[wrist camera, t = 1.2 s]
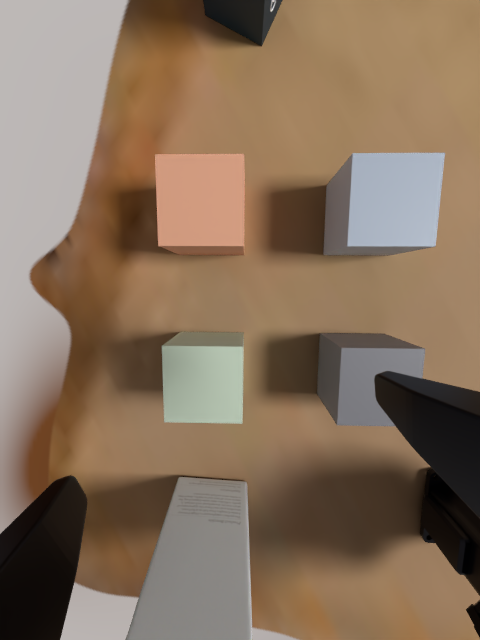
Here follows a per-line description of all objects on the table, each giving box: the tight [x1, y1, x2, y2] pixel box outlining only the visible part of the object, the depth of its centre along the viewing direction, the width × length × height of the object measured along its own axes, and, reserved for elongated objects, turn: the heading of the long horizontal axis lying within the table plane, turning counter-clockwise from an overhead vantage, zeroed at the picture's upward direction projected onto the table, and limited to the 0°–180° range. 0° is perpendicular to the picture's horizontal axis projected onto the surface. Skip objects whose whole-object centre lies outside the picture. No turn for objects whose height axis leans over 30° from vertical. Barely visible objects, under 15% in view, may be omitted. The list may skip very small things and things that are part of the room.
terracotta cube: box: [155, 154, 245, 255], centre depth 18 cm, size 5×5×5 cm
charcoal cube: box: [317, 333, 425, 426], centre depth 19 cm, size 5×5×5 cm
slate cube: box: [323, 153, 445, 255], centre depth 18 cm, size 5×5×5 cm
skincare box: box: [126, 477, 253, 640], centre depth 17 cm, size 6×4×12 cm
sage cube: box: [162, 332, 244, 424], centre depth 19 cm, size 5×5×5 cm
